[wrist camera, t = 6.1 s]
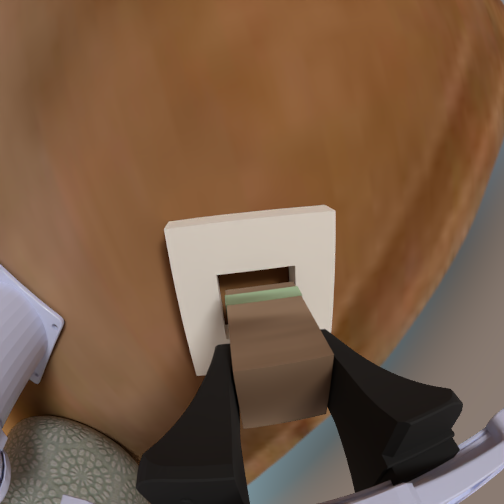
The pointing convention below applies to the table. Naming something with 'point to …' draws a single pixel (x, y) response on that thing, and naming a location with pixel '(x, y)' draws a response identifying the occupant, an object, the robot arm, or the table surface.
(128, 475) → the planter
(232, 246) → the sleeve block
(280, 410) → the post
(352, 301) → the table surface
